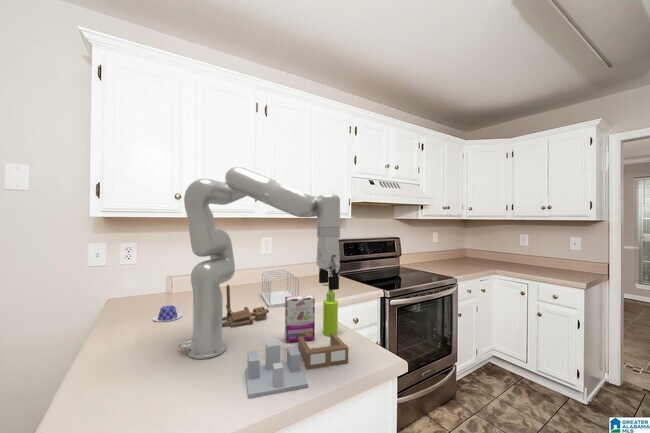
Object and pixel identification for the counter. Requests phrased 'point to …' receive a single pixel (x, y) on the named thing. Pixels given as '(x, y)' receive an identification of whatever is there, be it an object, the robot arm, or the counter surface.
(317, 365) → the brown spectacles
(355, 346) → the counter surface
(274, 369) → the grey post plate
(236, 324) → the wooden figure
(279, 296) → the file sorter
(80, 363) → the counter surface
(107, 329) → the counter surface
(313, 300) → the candy bar box
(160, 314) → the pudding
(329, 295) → the soap dispenser
